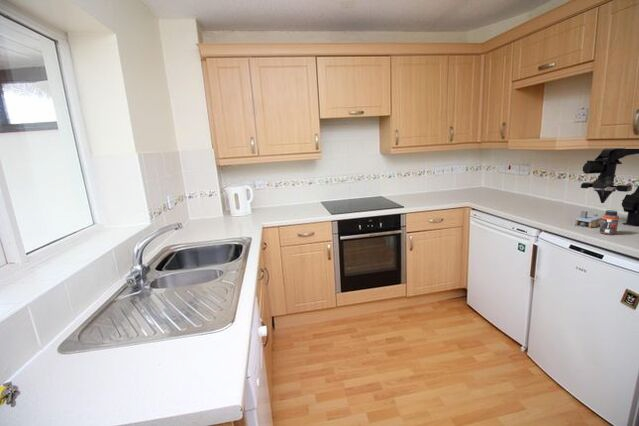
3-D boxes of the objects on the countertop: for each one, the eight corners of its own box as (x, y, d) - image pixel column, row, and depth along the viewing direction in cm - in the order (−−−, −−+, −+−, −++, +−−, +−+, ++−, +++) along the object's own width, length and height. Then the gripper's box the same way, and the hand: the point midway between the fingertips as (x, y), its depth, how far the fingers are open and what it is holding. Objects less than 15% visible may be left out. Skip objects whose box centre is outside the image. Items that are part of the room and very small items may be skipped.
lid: (588, 216, 166) (589, 208, 165) (603, 218, 160) (604, 210, 159) (575, 220, 160) (577, 211, 159) (590, 222, 154) (592, 213, 153)
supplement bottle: (610, 235, 142) (614, 212, 139) (596, 232, 147) (599, 210, 145) (619, 234, 143) (623, 211, 141) (604, 231, 149) (608, 209, 146)
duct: (586, 221, 166) (587, 216, 166) (602, 224, 160) (603, 219, 160) (574, 225, 161) (575, 220, 160) (590, 228, 155) (591, 222, 154)
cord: (586, 224, 162) (585, 219, 162) (593, 224, 160) (592, 219, 160) (579, 226, 159) (578, 221, 159) (585, 226, 157) (584, 221, 157)
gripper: (577, 173, 158) (573, 202, 162) (624, 175, 142) (618, 207, 145) (588, 171, 163) (583, 199, 166) (635, 173, 147) (629, 205, 150)
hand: (602, 203), depth 157 cm, fingers closed
